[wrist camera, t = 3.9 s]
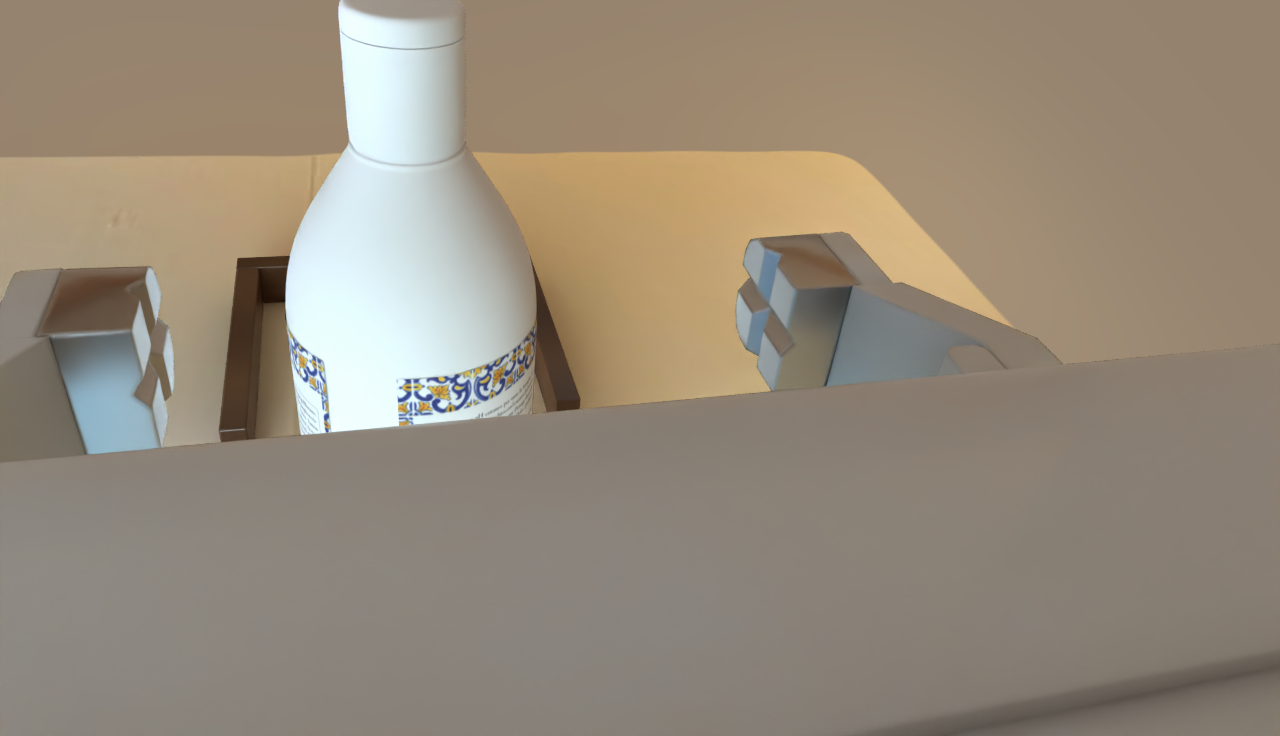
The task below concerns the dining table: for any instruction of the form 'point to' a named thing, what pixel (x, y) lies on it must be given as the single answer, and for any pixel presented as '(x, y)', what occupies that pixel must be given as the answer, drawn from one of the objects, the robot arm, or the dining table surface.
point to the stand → (268, 284)
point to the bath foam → (408, 245)
